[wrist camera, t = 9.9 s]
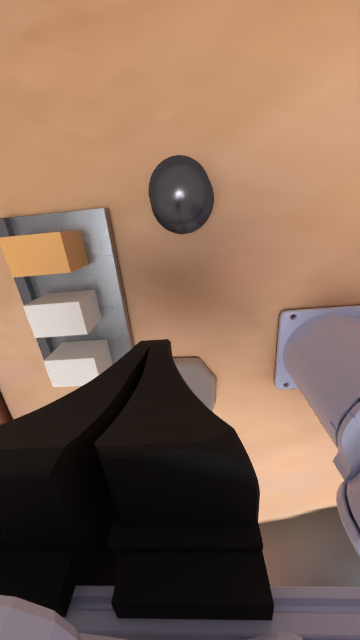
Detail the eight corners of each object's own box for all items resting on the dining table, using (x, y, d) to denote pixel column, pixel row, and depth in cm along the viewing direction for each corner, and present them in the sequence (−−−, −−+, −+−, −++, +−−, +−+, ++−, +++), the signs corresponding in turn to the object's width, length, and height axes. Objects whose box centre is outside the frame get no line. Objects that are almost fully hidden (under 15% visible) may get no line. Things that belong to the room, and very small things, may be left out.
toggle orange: (80, 229, 17) (59, 231, 14) (88, 264, 18) (70, 272, 15) (28, 234, 17) (-3, 237, 15) (39, 268, 18) (12, 277, 16)
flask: (133, 367, 23) (96, 466, 14) (204, 345, 22) (215, 437, 12) (162, 420, 25) (147, 533, 16) (226, 403, 24) (249, 515, 15)
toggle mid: (94, 289, 19) (78, 301, 16) (101, 318, 20) (87, 334, 17) (47, 293, 19) (23, 305, 16) (56, 321, 20) (34, 337, 17)
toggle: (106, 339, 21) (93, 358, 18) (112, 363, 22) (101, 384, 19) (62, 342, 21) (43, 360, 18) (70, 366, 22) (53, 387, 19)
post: (211, 161, 16) (223, 131, 10) (213, 230, 18) (225, 235, 12) (148, 168, 16) (127, 142, 11) (156, 235, 18) (141, 243, 12)
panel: (108, 208, 17) (100, 207, 16) (138, 367, 23) (134, 377, 21) (5, 219, 18) (-11, 218, 16) (58, 371, 23) (50, 382, 22)
